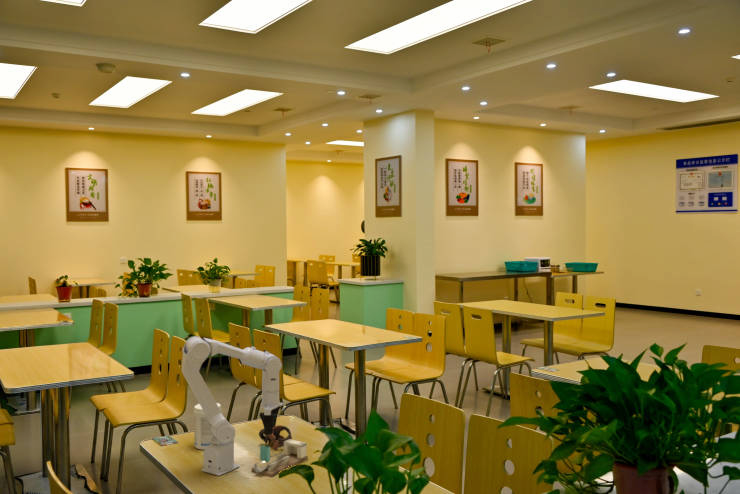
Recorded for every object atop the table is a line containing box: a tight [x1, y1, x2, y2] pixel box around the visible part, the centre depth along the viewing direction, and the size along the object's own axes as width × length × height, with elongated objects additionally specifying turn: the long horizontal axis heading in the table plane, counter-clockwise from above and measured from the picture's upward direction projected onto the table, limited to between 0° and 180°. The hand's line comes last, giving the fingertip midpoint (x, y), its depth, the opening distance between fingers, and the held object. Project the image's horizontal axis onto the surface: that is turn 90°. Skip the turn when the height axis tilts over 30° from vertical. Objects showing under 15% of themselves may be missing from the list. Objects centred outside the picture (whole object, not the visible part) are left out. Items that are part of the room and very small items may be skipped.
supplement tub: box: [193, 402, 222, 451], centre depth 228 cm, size 10×10×15 cm
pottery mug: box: [258, 424, 293, 451], centre depth 229 cm, size 12×10×8 cm
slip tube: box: [253, 444, 286, 474], centre depth 206 cm, size 12×3×7 cm, turn 148°
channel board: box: [251, 453, 309, 478], centre depth 210 cm, size 19×8×3 cm, turn 148°
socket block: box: [283, 439, 308, 459], centre depth 217 cm, size 3×7×4 cm, turn 58°
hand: (270, 430), depth 214 cm, fingers open, 7 cm apart
